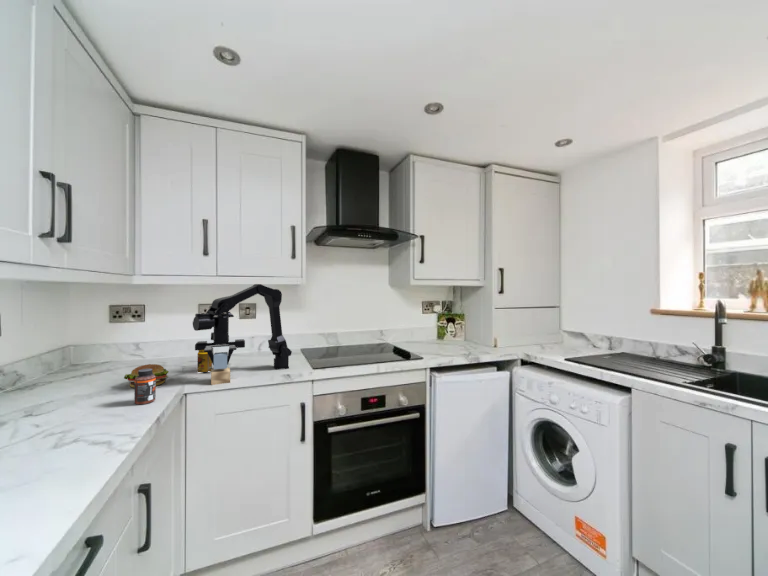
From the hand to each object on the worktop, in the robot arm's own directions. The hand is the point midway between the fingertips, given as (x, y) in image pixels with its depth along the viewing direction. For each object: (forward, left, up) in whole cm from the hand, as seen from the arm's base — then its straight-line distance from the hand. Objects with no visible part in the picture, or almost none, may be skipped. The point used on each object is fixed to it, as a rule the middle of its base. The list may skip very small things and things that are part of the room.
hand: (220, 364), depth 136 cm
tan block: (0, 0, -7) cm, 7 cm away
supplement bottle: (+23, +17, -7) cm, 29 cm away
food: (+28, -7, -8) cm, 29 cm away
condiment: (+8, -21, -8) cm, 24 cm away
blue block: (0, 0, -1) cm, 1 cm away
